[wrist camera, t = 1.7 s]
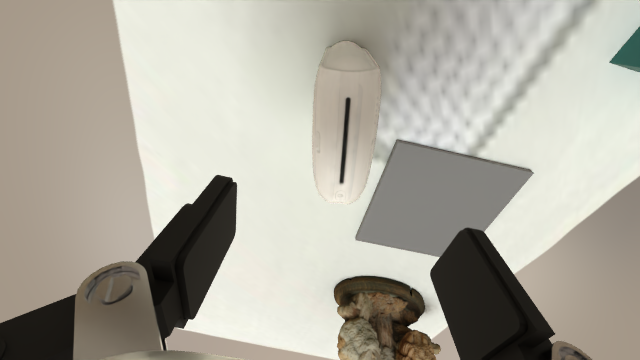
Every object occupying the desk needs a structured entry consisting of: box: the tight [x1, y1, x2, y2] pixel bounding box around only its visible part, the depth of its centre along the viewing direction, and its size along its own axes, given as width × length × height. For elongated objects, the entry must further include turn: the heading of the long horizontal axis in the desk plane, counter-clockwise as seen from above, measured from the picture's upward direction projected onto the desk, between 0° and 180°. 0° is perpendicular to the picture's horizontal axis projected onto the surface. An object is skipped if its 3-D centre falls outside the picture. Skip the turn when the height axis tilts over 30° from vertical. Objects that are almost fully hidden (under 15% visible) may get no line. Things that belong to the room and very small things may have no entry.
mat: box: [356, 140, 533, 257], centre depth 32 cm, size 16×16×1 cm
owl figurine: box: [334, 276, 441, 360], centre depth 37 cm, size 18×12×17 cm, turn 71°
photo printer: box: [312, 41, 381, 204], centre depth 20 cm, size 10×4×12 cm, turn 179°
